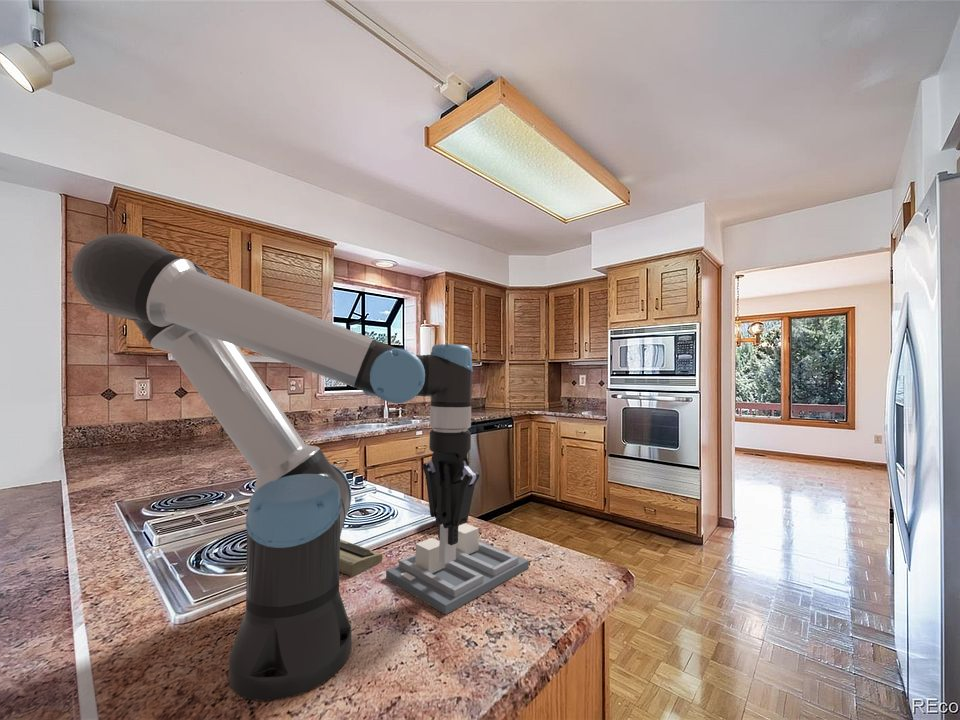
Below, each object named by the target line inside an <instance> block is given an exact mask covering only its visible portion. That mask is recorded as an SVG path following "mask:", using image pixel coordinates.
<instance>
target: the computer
mask: <svg viewBox="0 0 960 720" xmlns="http://www.w3.org/2000/svg"><path fill="white" fill-rule="evenodd" d="M383 559H384V558H383V554H382V553H379V552H377V551H374V550H372V549H369V548H366V547H363V546H360V545H357V544H355V543H352V542H349V541H346V540H344V539H341V538H340V568H339V574H340V573H342V574H343V575H345V576H348V577H350V578H355V577H357V576H358V575H360V574H363V573H364V572H366V571H367V570H368V571H369V570H370V569H371V568H373V567H376V566H379V564H382V562H383Z"/></svg>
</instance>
